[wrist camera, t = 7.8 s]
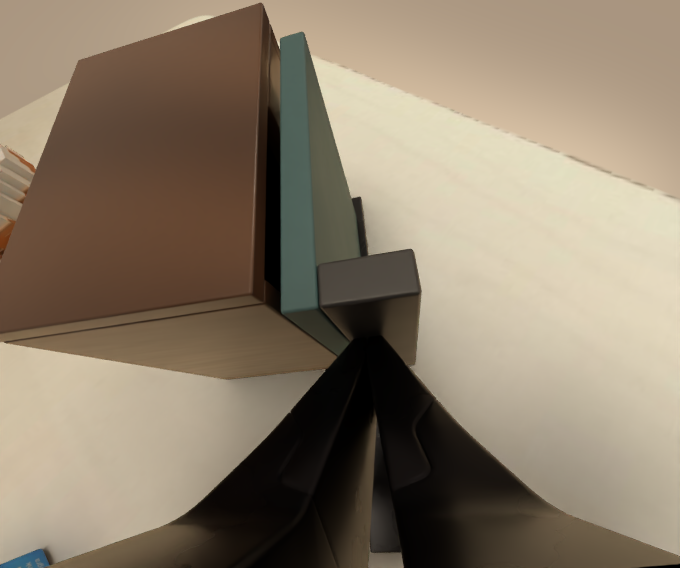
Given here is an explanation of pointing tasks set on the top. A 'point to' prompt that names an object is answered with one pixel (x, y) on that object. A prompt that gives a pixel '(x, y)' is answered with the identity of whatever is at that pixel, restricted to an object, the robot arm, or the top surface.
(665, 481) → the top surface
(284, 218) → the closet door
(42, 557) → the ink box
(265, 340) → the closet
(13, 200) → the caramel apple
